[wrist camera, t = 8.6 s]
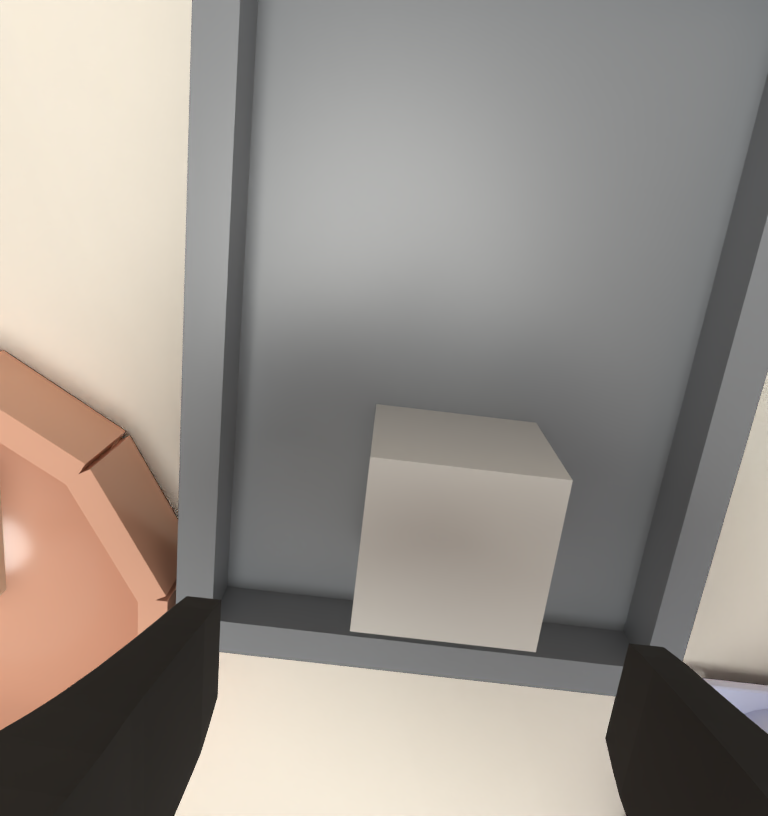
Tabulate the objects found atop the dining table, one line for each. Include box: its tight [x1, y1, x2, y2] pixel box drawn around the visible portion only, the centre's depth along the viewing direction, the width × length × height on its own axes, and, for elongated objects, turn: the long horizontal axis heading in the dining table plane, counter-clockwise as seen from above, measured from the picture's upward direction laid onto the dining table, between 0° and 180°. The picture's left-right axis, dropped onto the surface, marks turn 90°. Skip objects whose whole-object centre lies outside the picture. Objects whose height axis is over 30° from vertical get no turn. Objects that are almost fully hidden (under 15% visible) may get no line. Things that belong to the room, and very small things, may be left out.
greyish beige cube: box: [350, 404, 573, 652], centre depth 17 cm, size 4×4×4 cm
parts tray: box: [176, 0, 768, 696], centre depth 17 cm, size 14×19×2 cm
